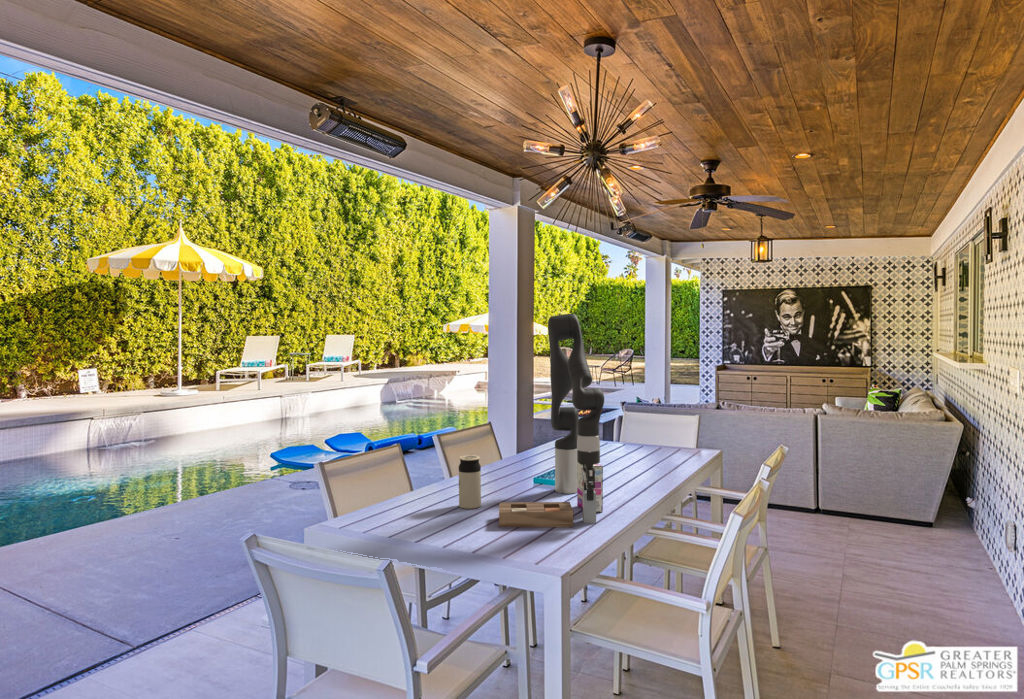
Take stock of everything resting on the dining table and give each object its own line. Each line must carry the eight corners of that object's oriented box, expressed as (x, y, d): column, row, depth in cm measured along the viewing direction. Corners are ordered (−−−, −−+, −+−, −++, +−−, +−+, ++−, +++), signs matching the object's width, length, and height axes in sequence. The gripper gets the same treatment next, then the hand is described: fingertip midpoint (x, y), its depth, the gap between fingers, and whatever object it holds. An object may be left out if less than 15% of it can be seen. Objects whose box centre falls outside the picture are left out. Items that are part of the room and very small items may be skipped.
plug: (582, 519, 221) (582, 490, 221) (594, 519, 221) (594, 490, 221) (584, 523, 217) (584, 493, 217) (596, 523, 217) (596, 493, 217)
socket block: (499, 517, 225) (499, 501, 225) (569, 516, 225) (569, 500, 225) (499, 527, 213) (499, 511, 213) (573, 526, 213) (573, 510, 213)
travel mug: (483, 504, 242) (483, 455, 241) (476, 510, 234) (476, 459, 234) (463, 502, 244) (462, 454, 243) (455, 508, 236) (455, 458, 236)
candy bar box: (603, 512, 230) (603, 465, 229) (591, 513, 228) (590, 466, 228) (589, 504, 240) (588, 459, 240) (576, 505, 238) (576, 460, 238)
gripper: (575, 445, 225) (575, 492, 226) (579, 452, 211) (579, 502, 212) (597, 445, 225) (597, 492, 226) (602, 452, 211) (602, 502, 211)
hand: (588, 497), depth 219 cm, fingers open, 8 cm apart
